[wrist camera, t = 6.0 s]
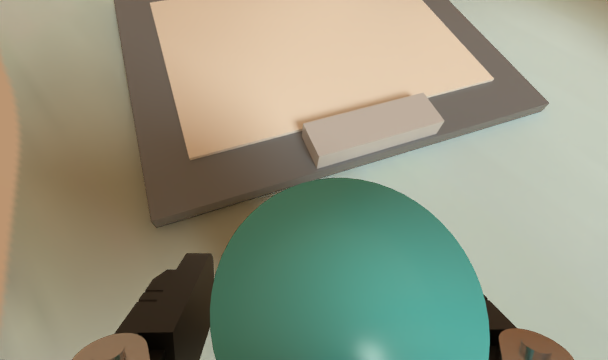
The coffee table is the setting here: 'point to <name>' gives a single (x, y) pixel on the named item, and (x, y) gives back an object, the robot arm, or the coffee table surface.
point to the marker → (346, 281)
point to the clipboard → (300, 91)
